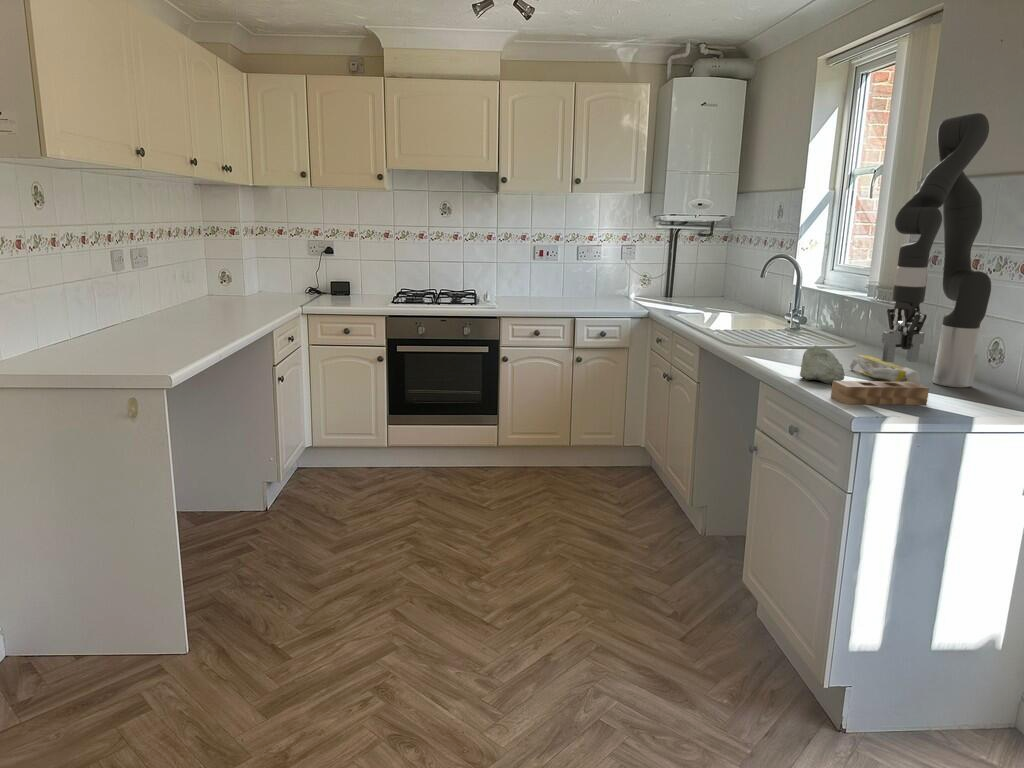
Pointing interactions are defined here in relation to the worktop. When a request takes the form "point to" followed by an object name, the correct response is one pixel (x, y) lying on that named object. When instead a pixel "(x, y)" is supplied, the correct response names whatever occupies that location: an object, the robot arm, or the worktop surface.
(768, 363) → the worktop surface
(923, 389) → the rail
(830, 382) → the decorative stone
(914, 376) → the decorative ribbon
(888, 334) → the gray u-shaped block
